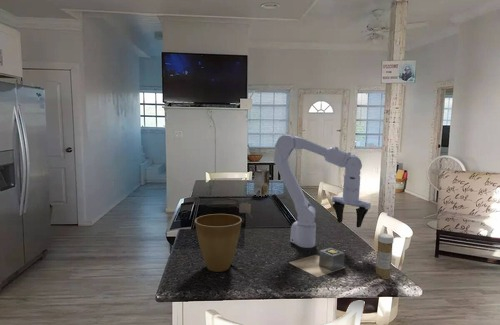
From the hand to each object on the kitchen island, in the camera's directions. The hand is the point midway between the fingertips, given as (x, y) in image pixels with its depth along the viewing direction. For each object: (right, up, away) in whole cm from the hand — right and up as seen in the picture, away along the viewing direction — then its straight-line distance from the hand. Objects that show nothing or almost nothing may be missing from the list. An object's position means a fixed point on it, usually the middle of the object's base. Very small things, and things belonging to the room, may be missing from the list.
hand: (349, 224), depth 130 cm
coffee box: (-30, +2, +97) cm, 101 cm away
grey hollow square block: (-10, -11, -15) cm, 21 cm away
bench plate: (-15, -12, -14) cm, 24 cm away
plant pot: (-47, -11, -16) cm, 51 cm away
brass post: (-10, -12, -15) cm, 22 cm away
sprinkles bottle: (+5, -13, -19) cm, 24 cm away
